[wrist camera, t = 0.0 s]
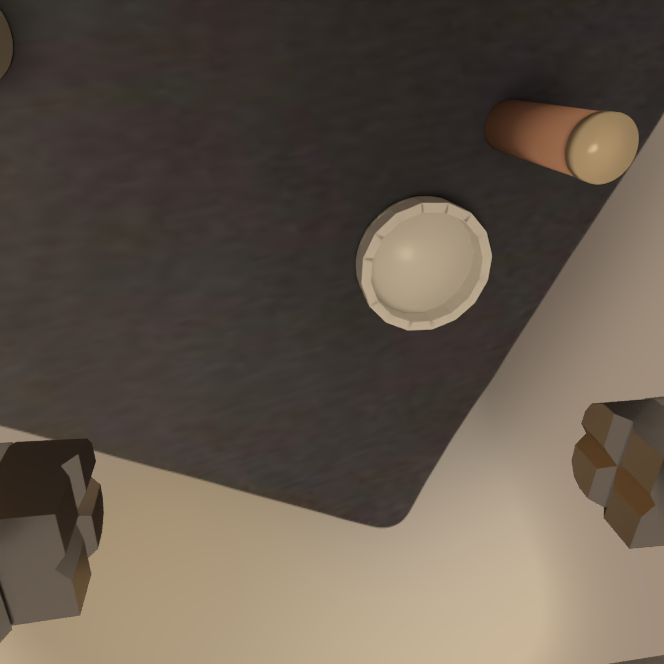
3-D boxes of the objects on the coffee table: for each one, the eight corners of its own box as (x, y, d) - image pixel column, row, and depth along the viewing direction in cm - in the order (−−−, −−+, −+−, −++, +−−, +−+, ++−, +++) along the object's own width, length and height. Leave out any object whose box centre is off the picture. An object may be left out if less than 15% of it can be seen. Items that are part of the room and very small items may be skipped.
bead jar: (488, 97, 54) (583, 111, 40) (537, 99, 55) (646, 112, 40) (480, 152, 56) (566, 184, 42) (526, 153, 57) (627, 184, 43)
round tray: (359, 195, 56) (366, 203, 53) (487, 195, 58) (501, 202, 55) (352, 320, 62) (358, 332, 59) (468, 315, 64) (479, 327, 62)
